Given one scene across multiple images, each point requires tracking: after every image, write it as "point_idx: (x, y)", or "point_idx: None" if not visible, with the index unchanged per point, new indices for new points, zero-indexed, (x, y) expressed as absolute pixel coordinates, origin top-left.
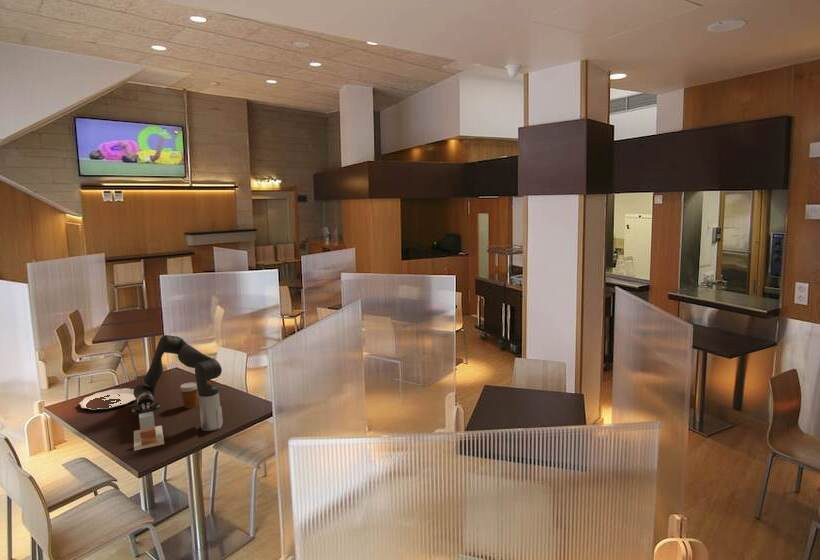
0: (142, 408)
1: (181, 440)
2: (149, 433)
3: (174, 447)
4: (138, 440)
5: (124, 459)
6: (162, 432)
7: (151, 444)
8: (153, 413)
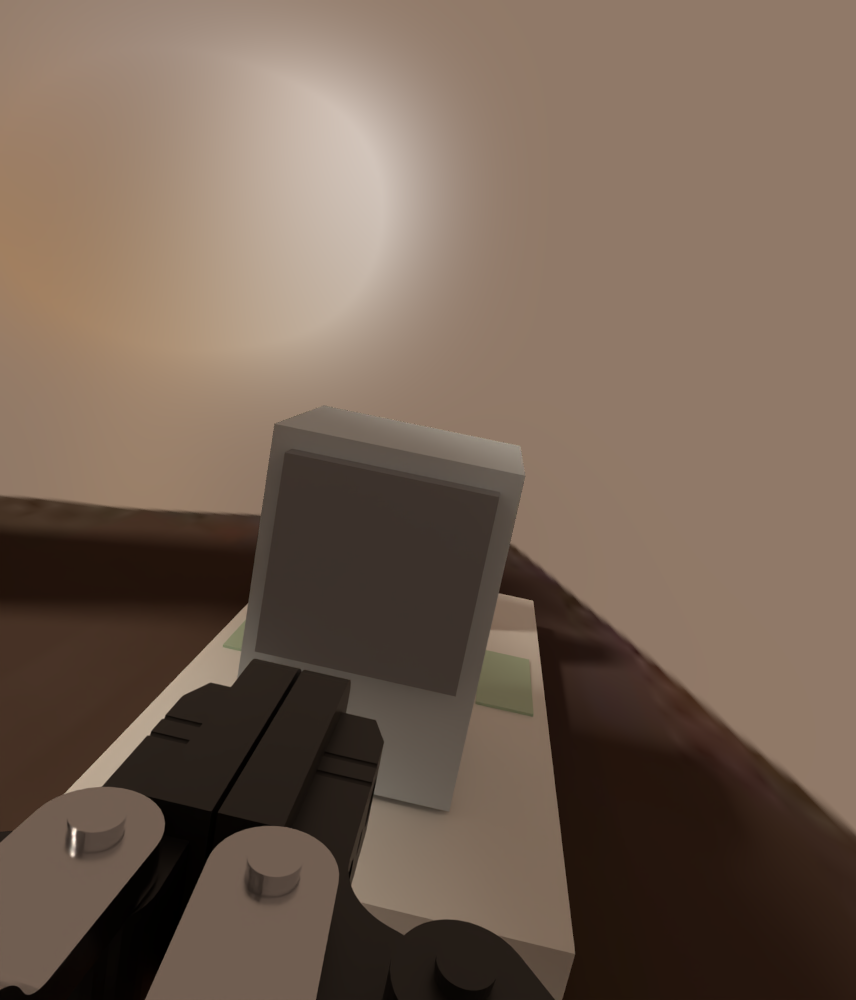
0: (317, 993)
1: (129, 567)
2: None
3: (239, 549)
4: (495, 674)
5: (593, 620)
6: (197, 658)
7: None
8: (305, 412)
